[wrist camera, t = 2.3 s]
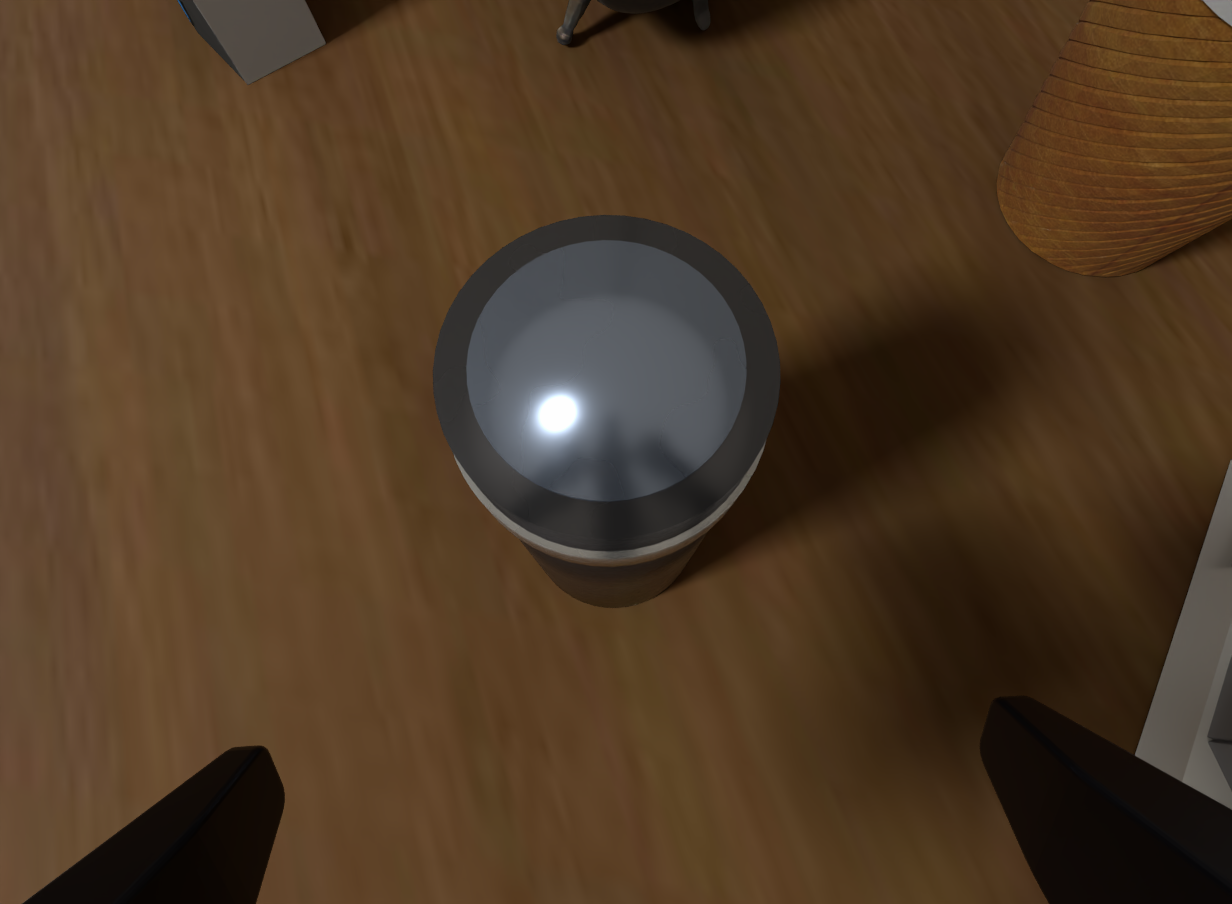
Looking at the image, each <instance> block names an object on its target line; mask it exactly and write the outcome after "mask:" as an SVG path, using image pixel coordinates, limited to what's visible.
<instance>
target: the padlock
mask: <svg viewBox="0 0 1232 904" xmlns="http://www.w3.org/2000/svg"><path fill="white" fill-rule="evenodd" d="M177 1H178V2H179V4H180V6H181V7H182V9H183V11H184V12H185V14H186V16H187V17H188V19H189V20H190V22H191V23H192V25H193V26H194V27H195V29H196V30H197V32H198V33H199V34H200V35H201V36H202V38H203V39H204V40H205V41H206V42H207V43H208V44H209V45H210V46H211V47H212V48H213V49H214V50H215V51H216V52H217V53H218V54H219V55H220V56H221V57H222V58H223V59H224V60H225V61H226V62H227V63H228V64H229V65H230V67H231V68H232V69H233V70H234V71H235V72H236V73H237V74H238V75H239V76H240V77H241V78H242V79H243V80H244V81H245V82H246V83H247V85H249V84H251V83H253V82H254V81H256V80H258V79H260V78H262V77H264V76H266V75H268V74H270V73H272V72H274V71H275V70H277V69H279V68H281V67H283V66H285V65H287V64H289V63H291V62H293V61H294V60H296V59H298V58H300V57H302V56H304V55H306V54H308V53H310V52H312V51H314V50H315V49H317V48H319V47H321V46H323V45H325V44H326V42H325V40H324V38H323V36H322V34H321V32H320V30H319V28H318V26H317V24H316V22H315V20H314V18H313V16H312V14H311V12H310V10H309V8H308V5H307V3H306V1H305V0H177Z"/></svg>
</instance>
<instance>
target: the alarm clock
mask: <svg viewBox="0 0 1232 904" xmlns="http://www.w3.org/2000/svg"><path fill="white" fill-rule="evenodd" d="M590 1H591V0H569V3H568V7H567V11H566V15H565V20H564V24H563V25H562V26H561V27H560V28H559V29H558V30H557V40H558V42H559V43H560V44H562V45H567V44H570V42H571V41H572V36H573V30H574V28H575V27H576V25H577V23H578V21H579V19H580V18H581V17H582V15H583V14H584V12H585V10H586V8H587V6H588V4H589V3H590ZM597 1H599V2H600V3H602V4H603V5H605V6H607V7H608V8H610V9H613V10H615V11H618V12H623V13H632V14H634V13H646V12H651V11H655V10H659V9H662V8H664V7H667V6H669V5H672V4H674V3H676V2H678V1H680V0H597ZM692 2H693V8H694V15H695V21H696V23H697V25H698V26H699V27H700V29H701V30H706V29H707V28H708V27H709V25H710V21H711V19H710V12H709V8H708V0H692Z"/></svg>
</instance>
